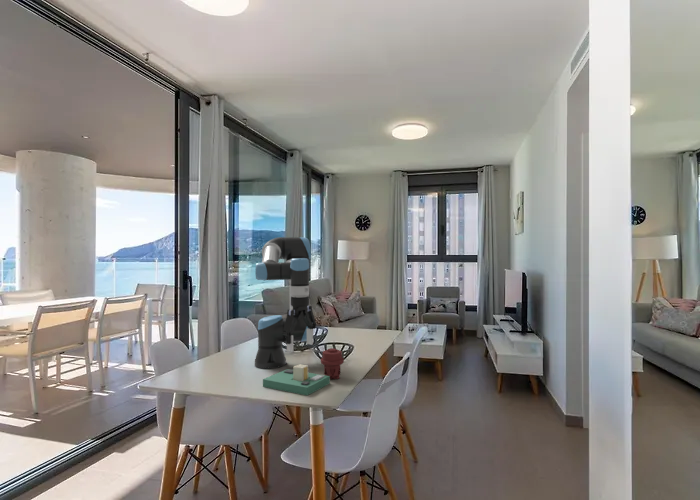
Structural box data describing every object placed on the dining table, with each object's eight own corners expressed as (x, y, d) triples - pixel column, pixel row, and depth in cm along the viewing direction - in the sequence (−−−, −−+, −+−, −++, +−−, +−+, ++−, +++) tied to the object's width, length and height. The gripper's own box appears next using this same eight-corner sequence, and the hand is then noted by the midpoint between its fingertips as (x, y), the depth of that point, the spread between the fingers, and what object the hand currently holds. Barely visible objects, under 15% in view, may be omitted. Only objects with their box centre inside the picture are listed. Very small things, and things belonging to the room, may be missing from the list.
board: (262, 386, 161) (262, 377, 161) (287, 375, 175) (287, 367, 175) (307, 395, 151) (307, 386, 151) (329, 383, 165) (329, 374, 165)
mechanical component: (320, 381, 167) (320, 374, 177) (344, 381, 168) (343, 373, 178) (320, 352, 167) (320, 346, 177) (344, 351, 168) (342, 346, 178)
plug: (293, 386, 161) (293, 366, 161) (299, 383, 165) (299, 364, 165) (303, 388, 159) (302, 368, 159) (309, 385, 163) (309, 365, 163)
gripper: (288, 300, 150) (288, 356, 150) (324, 293, 171) (324, 342, 172) (272, 299, 153) (273, 353, 154) (309, 292, 175) (310, 340, 175)
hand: (300, 347), depth 163 cm, fingers open, 13 cm apart
